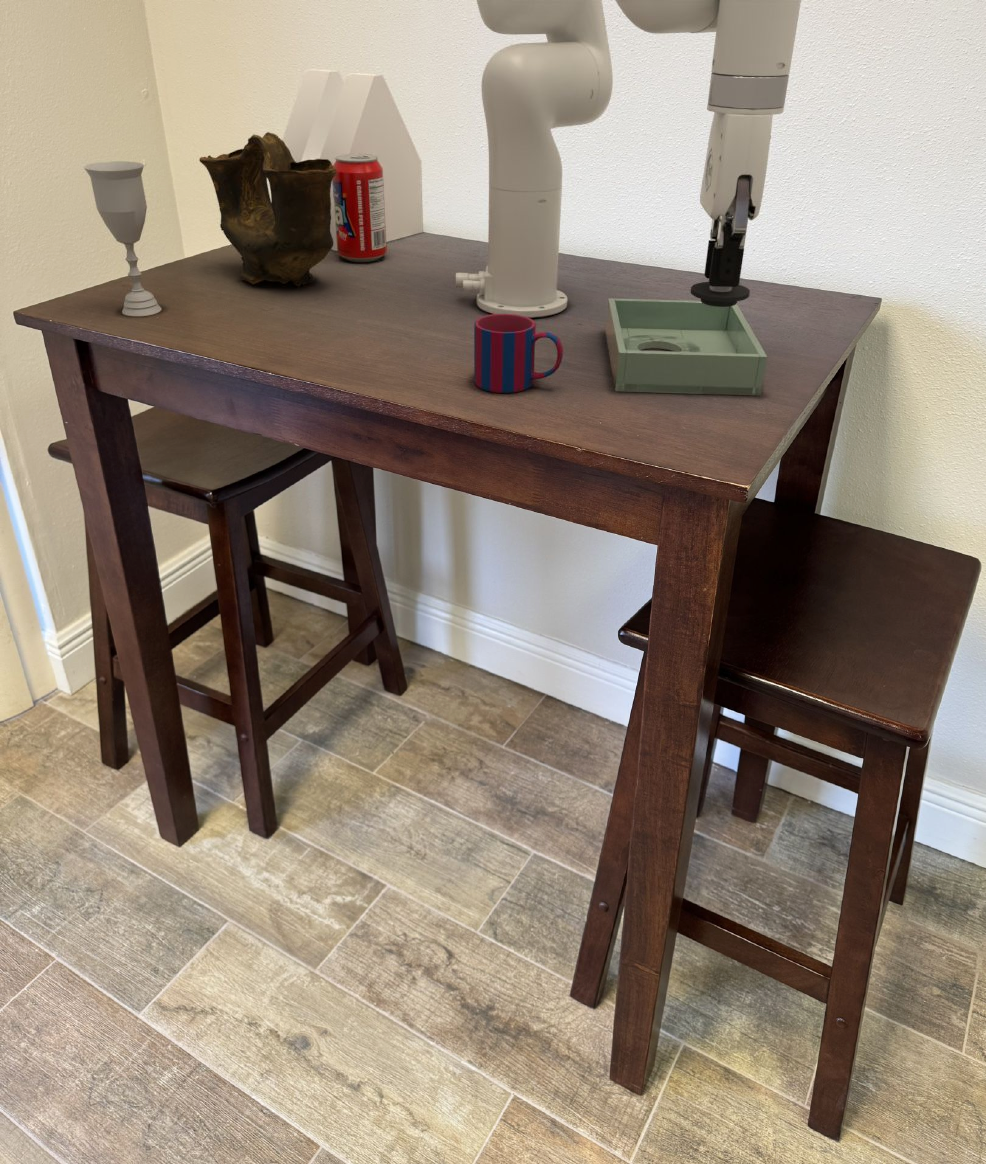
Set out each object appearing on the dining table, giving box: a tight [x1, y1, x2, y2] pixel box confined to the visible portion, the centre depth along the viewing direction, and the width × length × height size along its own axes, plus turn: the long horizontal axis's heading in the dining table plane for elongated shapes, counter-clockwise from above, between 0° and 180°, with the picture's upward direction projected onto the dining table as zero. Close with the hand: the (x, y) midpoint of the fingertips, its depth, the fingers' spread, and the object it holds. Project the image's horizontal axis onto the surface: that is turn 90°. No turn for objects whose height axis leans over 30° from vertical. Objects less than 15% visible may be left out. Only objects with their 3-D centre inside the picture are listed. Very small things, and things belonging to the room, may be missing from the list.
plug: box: [690, 242, 751, 307], centre depth 103 cm, size 6×6×6 cm
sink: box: [605, 297, 768, 397], centre depth 111 cm, size 16×20×4 cm
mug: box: [473, 313, 564, 394], centre depth 103 cm, size 7×10×7 cm
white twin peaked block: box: [281, 68, 424, 252], centre depth 156 cm, size 19×15×25 cm
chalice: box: [83, 160, 162, 317], centre depth 121 cm, size 7×7×18 cm
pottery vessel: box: [199, 131, 337, 287], centre depth 134 cm, size 25×11×20 cm, turn 46°
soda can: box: [332, 154, 388, 263], centre depth 146 cm, size 8×8×15 cm
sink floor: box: [605, 328, 762, 396], centre depth 112 cm, size 16×20×1 cm
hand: (721, 280), depth 103 cm, fingers closed on plug, 2 cm apart
